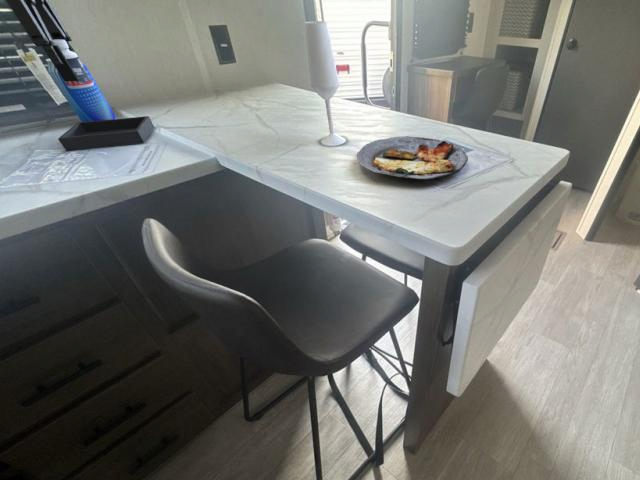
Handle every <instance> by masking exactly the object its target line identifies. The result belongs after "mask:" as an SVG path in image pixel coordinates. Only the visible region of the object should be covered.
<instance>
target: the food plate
mask: <svg viewBox="0 0 640 480" xmlns="http://www.w3.org/2000/svg"><path fill="white" fill-rule="evenodd" d="M356 157H357V158H356V159H357V161H358V163H359V164H360V165H361V166H362V167H363V168H366V169H367V170H368V171H370V172H373V173H375V174H378V173H379V174H384V175H388V176H390V177H391V176H392V177H398V178H405V179H408V178H410V179H415V180H435V179H441V178H443V177H447V176H452V175H454V174H455V173H458V172H460V171H461V170H463V168H464V167H465V166H466V164H467V162H468V161H469V157H468V154H467V153H466V152H465V151H464V150H463V149H462V148H461V147H460V146H457V145H455V144H454V143H451V142H447V141H445V140H441V139H436V138H434V139H433V138H429V137H428V138H427V137H420V136H408V135H405V136H404V135H403V136H393V137H388V138H381V139H376V140H373V141H370V142H369V143H366V144H364V145H363V146H362V147H361V149H360V150H358V152H356Z"/></svg>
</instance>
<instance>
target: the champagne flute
mask: <svg viewBox="0 0 640 480" xmlns="http://www.w3.org/2000/svg"><path fill="white" fill-rule="evenodd" d="M304 28H305V40H306V51H307V60H308V71H309V80H310V81H309V82H310V86H311V88H312V89H313V91H314V92H315V94H317V95H318V96H319V97H320V98H321V99H323V100H324V102H325V109H326V116H327V122H328V129H329V134H328V135H326V136H325V137H324V138H323V139H321V141H320V143H321V145H323V146H326V147H327V146H328V147H335V146H336V147H337V146H340V145H343V144H345V143H346V142H347V140H346V138H345V137H342V136H340V135H338V134H336V133H335V127H334V121H333V119H334V118H333V112H332V107H331V99H332V98H333V97H335V95H336V93H337V91H338V89H339V86H340V81H339V75H338V70H337V66H336V60H335V55H334V50H333V45H332V40H331V34H330V29H329V24H328V21H324V20H316V21H313V20H312V21H305V22H304Z"/></svg>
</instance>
